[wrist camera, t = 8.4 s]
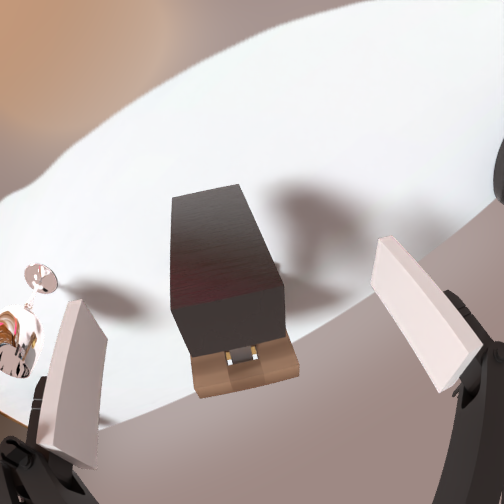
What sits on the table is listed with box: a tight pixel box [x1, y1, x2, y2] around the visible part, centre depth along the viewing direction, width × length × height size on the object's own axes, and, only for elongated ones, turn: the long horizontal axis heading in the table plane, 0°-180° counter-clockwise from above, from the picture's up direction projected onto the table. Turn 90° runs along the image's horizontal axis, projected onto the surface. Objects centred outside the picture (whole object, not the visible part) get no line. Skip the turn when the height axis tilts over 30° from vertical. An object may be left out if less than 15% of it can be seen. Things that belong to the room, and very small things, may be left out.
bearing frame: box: [190, 331, 299, 398], centre depth 30 cm, size 10×10×13 cm
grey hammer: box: [170, 184, 286, 364], centre depth 18 cm, size 16×4×9 cm, turn 7°
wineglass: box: [0, 263, 57, 378], centre depth 23 cm, size 6×6×12 cm
